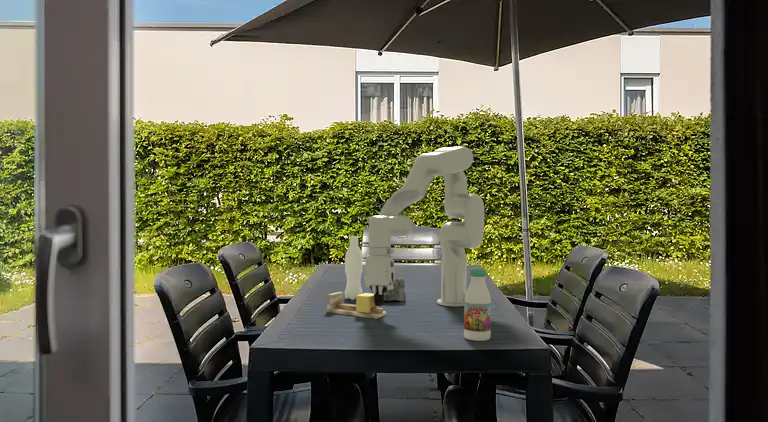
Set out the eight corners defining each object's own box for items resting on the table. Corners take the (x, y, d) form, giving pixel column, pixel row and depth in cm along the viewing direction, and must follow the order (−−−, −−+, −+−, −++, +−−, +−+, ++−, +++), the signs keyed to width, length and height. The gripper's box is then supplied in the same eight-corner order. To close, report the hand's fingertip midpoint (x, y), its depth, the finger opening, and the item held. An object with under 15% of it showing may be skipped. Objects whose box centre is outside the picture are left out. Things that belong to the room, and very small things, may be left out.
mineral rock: (369, 302, 217) (369, 276, 216) (376, 297, 227) (376, 273, 227) (402, 304, 214) (402, 278, 213) (407, 299, 224) (407, 274, 224)
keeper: (377, 309, 195) (377, 294, 195) (368, 312, 190) (368, 296, 190) (365, 308, 197) (365, 292, 197) (356, 311, 192) (356, 295, 192)
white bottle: (363, 297, 227) (364, 235, 226) (361, 300, 220) (361, 237, 219) (346, 296, 227) (346, 235, 227) (343, 300, 220) (343, 236, 220)
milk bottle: (461, 335, 167) (462, 268, 166) (486, 334, 167) (487, 268, 167) (467, 341, 159) (468, 271, 159) (493, 341, 160) (494, 271, 159)
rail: (386, 315, 194) (386, 297, 194) (376, 318, 188) (376, 300, 187) (338, 308, 204) (338, 291, 203) (327, 312, 198) (327, 294, 197)
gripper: (404, 252, 190) (403, 305, 191) (366, 249, 197) (365, 301, 198) (393, 254, 184) (393, 309, 184) (355, 251, 191) (354, 305, 191)
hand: (378, 305), depth 191 cm, fingers closed
